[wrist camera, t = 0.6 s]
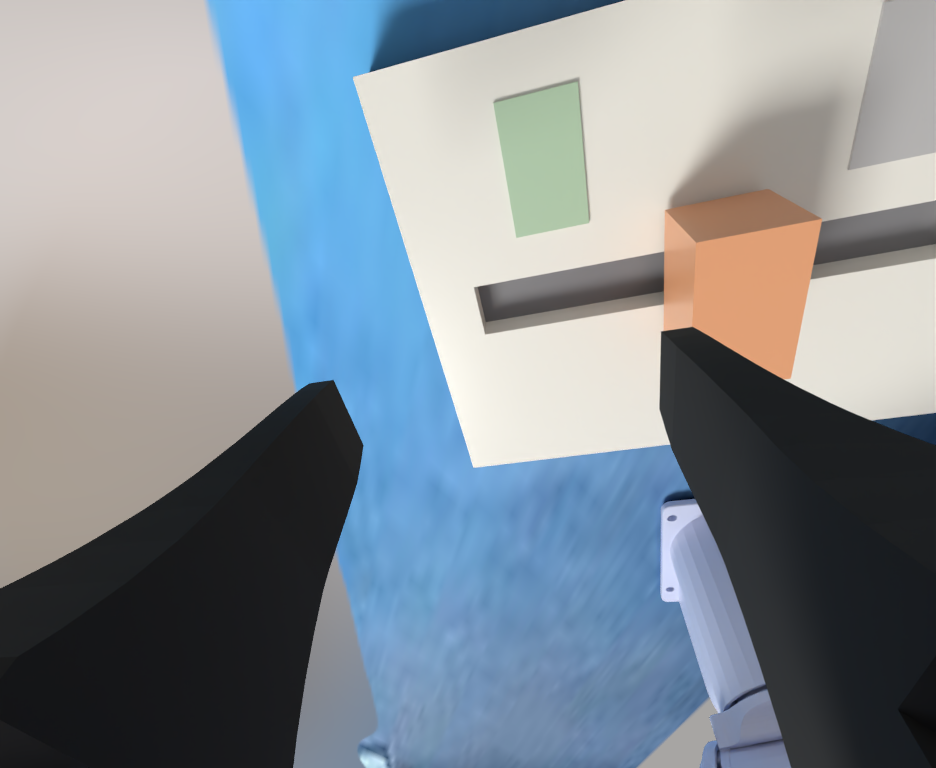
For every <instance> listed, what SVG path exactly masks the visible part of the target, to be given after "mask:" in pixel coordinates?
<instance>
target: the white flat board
mask: <svg viewBox="0 0 936 768" xmlns="http://www.w3.org/2000/svg"><path fill="white" fill-rule="evenodd" d="M353 80H354V83H355V86H356V89H357V92H358V96H359V99H360V102H361V105H362V109H363V112H364V115H365V118H366V122H367V125H368V128H369V131H370V134H371V138H372V141H373V144H374V147H375V151H376V154H377V157H378V160H379V164H380V167H381V170H382V173H383V176H384V180H385V183H386V186H387V189H388V193H389V196H390V199H391V202H392V205H393V209H394V212H395V215H396V218H397V222H398V225H399V228H400V231H401V235H402V238H403V241H404V244H405V247H406V251H407V254H408V257H409V260H410V264H411V267H412V270H413V273H414V277H415V280H416V283H417V286H418V289H419V293H420V296H421V299H422V302H423V306H424V309H425V312H426V315H427V319H428V322H429V325H430V328H431V331H432V335H433V338H434V341H435V344H436V348H437V351H438V354H439V357H440V360H441V364H442V367H443V370H444V373H445V377H446V380H447V383H448V386H449V390H450V393H451V396H452V399H453V402H454V406H455V409H456V412H457V415H458V419H459V422H460V425H461V428H462V432H463V435H464V438H465V441H466V444H467V448H468V451H469V454H470V457H471V461H472V464H473V467H474V468H475V467H484V466H492V465H501V464H509V463H517V462H526V461H534V460H543V459H551V458H559V457H568V456H576V455H585V454H593V453H601V452H610V451H618V450H627V449H635V448H643V447H652V446H660V445H669V444H670V442H669V439H668V436H667V433H666V430H665V426H664V423H663V420H662V416H661V413H660V410H659V402H660V355H661V331H664V231H665V210H667V209H671V208H676V207H681V206H686V205H691V204H696V203H701V202H706V201H711V200H716V199H721V198H726V197H731V196H735V195H740V194H745V193H750V192H755V191H760V190H765V189H770V190H771V191H773V192H775V193H777V194H778V195H780V196H782V197H784V198H786V199H787V200H789V201H791V202H793V203H795V204H796V205H798V206H800V207H802V208H804V209H805V210H807V211H809V212H811V213H813V214H814V215H816V216H818V217H820V218H822V223H821V228H820V233H819V238H818V243H817V248H816V253H815V258H814V263H813V268H812V274H811V279H810V284H809V289H808V294H807V299H806V304H805V309H804V314H803V319H802V324H801V329H800V334H799V340H798V345H797V350H796V355H795V360H794V365H793V370H792V375H791V379H784V380H786V381H788V382H790V383H792V384H794V385H795V386H797V387H799V388H801V389H803V390H805V391H807V392H810V393H812V394H814V395H816V396H818V397H820V398H822V399H824V400H826V401H828V402H830V403H832V404H834V405H836V406H838V407H841V408H843V409H845V410H847V411H850V412H852V413H854V414H857V415H859V416H862V417H864V418H866V419H869V420H879V419H887V418H896V417H904V416H913V415H921V414H929V413H936V0H625V1H621V2H618V3H614V4H611V5H607V6H603V7H600V8H596V9H593V10H589V11H586V12H582V13H579V14H575V15H571V16H568V17H564V18H561V19H557V20H554V21H550V22H547V23H543V24H540V25H536V26H532V27H529V28H525V29H522V30H518V31H515V32H511V33H508V34H504V35H501V36H497V37H493V38H490V39H486V40H483V41H479V42H476V43H472V44H469V45H465V46H462V47H458V48H454V49H451V50H447V51H444V52H440V53H437V54H433V55H430V56H426V57H423V58H419V59H415V60H412V61H408V62H405V63H401V64H398V65H394V66H391V67H387V68H384V69H380V70H376V71H373V72H369V73H366V74H362V75H359V76H355V77H353Z"/></svg>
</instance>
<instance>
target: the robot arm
mask: <svg viewBox="0 0 936 768" xmlns="http://www.w3.org/2000/svg"><path fill="white" fill-rule="evenodd" d="M659 410H660V413H661V416H662V420H663V423H664V426H665V430H666V433H667V436H668V439H669V442H670V445H671V448H672V451H673V453H674V455H675V457H676V459H677V462H678V464H679V466H680V468H681V470H682V472H683V474H684V477H685V479H686V481H687V483H688V485H689V487H690V489H691V491H692V493H693V495H694V498H695V499H687V500H677V501H669V502H666V503H664V504H663V505H662V507H661V576H660V594H661V597H662V600H664V601H666V602H676V601H679V602H680V606H681V609H682V612H683V615H684V618H685V622H686V625H687V628H688V631H689V634H690V637H691V641H692V644H693V647H694V650H695V653H696V657H697V660H698V663H699V666H700V669H701V672H702V676H703V679H704V682H705V685H706V688H707V691H708V694H709V696H710V699H711V701H712V703H713V705H714V706H715V708H716V710H717V711H718V714H714V715H711V716H710V717H709V718H710V721H711V724H712V728H713V731H714V734H715V737H716V741H711V742H708V743H707V744H706V746H705V747H704V751H703V755H702V761H701V764H700V768H936V445H933V444H930V443H927V442H925V441H922V440H919V439H917V438H914V437H911V436H909V435H906V434H903V433H901V432H898V431H895V430H893V429H891V428H888V427H886V426H883V425H881V424H878V423H876V422H874V421H871V420H869V419H866V418H864V417H862V416H859V415H857V414H854V413H852V412H850V411H847V410H845V409H843V408H841V407H838V406H836V405H834V404H832V403H830V402H828V401H826V400H824V399H822V398H820V397H818V396H816V395H814V394H812V393H810V392H807V391H805V390H803V389H801V388H799V387H797V386H795V385H794V384H792V383H790V382H788V381H786V380H784V379H782V378H780V377H778V376H777V375H775V374H773V373H771V372H769V371H768V370H766V369H764V368H762V367H761V366H759V365H757V364H755V363H754V362H752V361H750V360H748V359H747V358H745V357H743V356H742V355H740V354H738V353H737V352H735V351H733V350H732V349H730V348H728V347H727V346H725V345H723V344H722V343H720V342H718V341H717V340H715V339H713V338H712V337H710V336H708V335H707V334H705V333H703V332H702V331H700V330H698V329H696V328H694V327H688V328H681V329H674V330H667V331H661V355H660V402H659ZM362 451H363V443H362V441H361V439H360V437H359V435H358V433H357V430H356V428H355V426H354V424H353V422H352V419H351V417H350V415H349V413H348V411H347V409H346V406H345V404H344V402H343V400H342V398H341V395H340V393H339V391H338V389H337V387H336V385H335V382H334V380H331V381H324V382H317V383H310V384H308V385H306V386H305V387H303V388H302V389H301V390H299V391H298V392H296V393H295V394H294V395H293V396H291V397H290V398H289V399H288V400H286V401H285V402H284V403H283V404H281V405H280V406H279V407H278V408H277V409H275V410H274V411H273V412H272V413H271V414H269V415H268V416H267V417H266V418H265V419H264V420H262V421H261V422H260V423H259V424H258V425H256V426H255V427H254V428H253V429H252V430H250V431H249V432H248V433H247V434H246V435H245V436H243V437H242V438H241V439H240V440H238V441H237V442H236V443H235V444H233V445H232V446H231V447H230V448H228V449H227V450H226V451H224V452H223V453H222V454H221V455H219V456H218V457H217V458H216V459H214V460H213V461H212V462H210V463H209V464H208V465H207V466H205V467H204V468H203V469H201V470H200V471H199V472H198V473H196V474H195V475H194V476H192V477H191V478H189V479H188V480H187V481H185V482H184V483H183V484H181V485H180V486H178V487H177V488H175V489H174V490H172V491H171V492H169V493H168V494H166V495H165V496H164V497H162V498H161V499H159V500H158V501H156V502H155V503H153V504H152V505H150V506H149V507H147V508H146V509H144V510H142V511H141V512H139V513H138V514H136V515H135V516H133V517H131V518H129V519H128V520H126V521H124V522H123V523H121V524H119V525H118V526H116V527H114V528H112V529H111V530H109V531H107V532H106V533H104V534H102V535H101V536H99V537H97V538H96V539H94V540H92V541H91V542H89V543H87V544H85V545H84V546H82V547H80V548H78V549H76V550H74V551H73V552H71V553H69V554H67V555H65V556H64V557H62V558H60V559H58V560H56V561H54V562H52V563H50V564H48V565H46V566H44V567H42V568H40V569H39V570H37V571H35V572H33V573H31V574H29V575H27V576H25V577H23V578H21V579H19V580H17V581H15V582H13V583H11V584H9V585H7V586H5V587H3V588H0V768H293V764H294V755H295V747H296V738H297V731H298V725H299V718H300V711H301V705H302V698H303V692H304V685H305V679H306V673H307V668H308V663H309V657H310V652H311V646H312V641H313V635H314V630H315V626H316V621H317V616H318V611H319V607H320V602H321V598H322V593H323V589H324V586H325V582H326V578H327V575H328V571H329V568H330V565H331V562H332V559H333V556H334V553H335V550H336V547H337V544H338V541H339V538H340V535H341V532H342V529H343V526H344V523H345V520H346V517H347V514H348V510H349V507H350V504H351V501H352V498H353V495H354V491H355V488H356V485H357V480H358V475H359V470H360V464H361V457H362Z"/></svg>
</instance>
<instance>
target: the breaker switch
mask: <svg viewBox="0 0 936 768" xmlns="http://www.w3.org/2000/svg"><path fill="white" fill-rule="evenodd" d="M821 223H822V218H820V217H818V216H816V215H814V214H813V213H811V212H809V211H807V210H805V209H804V208H802V207H800V206H798V205H796V204H795V203H793V202H791V201H789V200H787V199H786V198H784V197H782V196H780V195H778V194H777V193H775V192H773V191H771V190H770V189H765V190H760V191H755V192H750V193H745V194H740V195H735V196H731V197H726V198H721V199H716V200H711V201H706V202H701V203H696V204H691V205H686V206H681V207H676V208H671V209H667V210H665V231H664V331H667V330H674V329H681V328H688V327H694V328H696V329H698V330H700V331H702V332H703V333H705V334H707V335H708V336H710V337H712V338H713V339H715V340H717V341H718V342H720V343H722V344H723V345H725V346H727V347H728V348H730V349H732V350H733V351H735V352H737V353H738V354H740V355H742V356H743V357H745V358H747V359H748V360H750V361H752V362H754V363H755V364H757V365H759V366H761V367H762V368H764V369H766V370H768V371H769V372H771V373H773V374H775V375H777V376H778V377H780V378H782V379H791V375H792V370H793V365H794V360H795V355H796V350H797V345H798V340H799V334H800V329H801V324H802V319H803V314H804V309H805V304H806V299H807V294H808V289H809V284H810V279H811V274H812V268H813V263H814V258H815V253H816V248H817V243H818V238H819V233H820V228H821Z"/></svg>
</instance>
